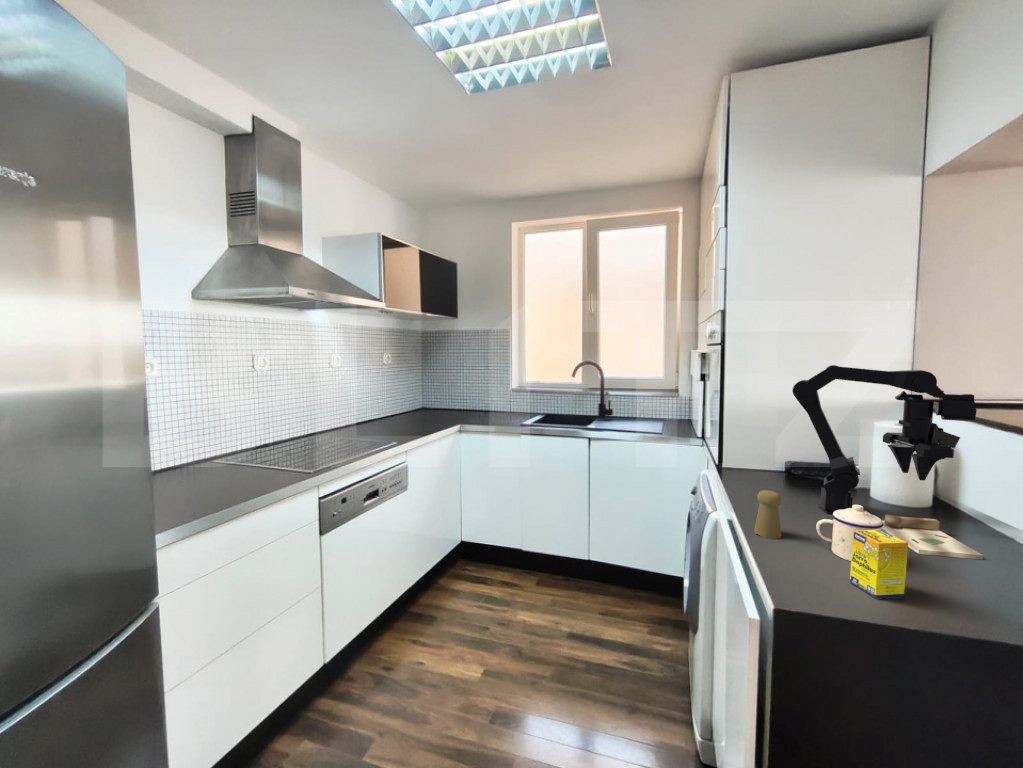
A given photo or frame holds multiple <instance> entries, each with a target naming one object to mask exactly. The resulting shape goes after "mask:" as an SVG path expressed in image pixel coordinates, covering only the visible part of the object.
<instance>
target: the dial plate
mask: <svg viewBox="0 0 1023 768" xmlns="http://www.w3.org/2000/svg"><path fill="white" fill-rule="evenodd" d="M882 522H883V527H882V531H884V532H885V533H887V534H889V535H891V536H894V537H896V538H898V539H900V540H902V541H905V542H907V543H908V549H911V550H912V551H913V552H915V553H916V554H918V555H928V556H929V555H930V556H940V557H949V558H961V559H970V560H971V559H975V560H983V559H984V555H983V554H981V553H980V552H978V551H977V550H974V549H973V548H971V547H969V546H968V545H966V544H964V543H963V542H961V541H959V540H957V539H956V538H954V537H952V536H950V535H948V534H947V533H945V532H943V531H941V530H940V529H939V530H936V529H924V528H911V527H891V526H888V525H885V520H882Z"/></svg>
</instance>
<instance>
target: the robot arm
mask: <svg viewBox="0 0 1023 768" xmlns="http://www.w3.org/2000/svg"><path fill="white" fill-rule="evenodd" d="M835 380H840V381H849V382H851V381H852V382H857V383H858V382H859V383H867V384H877V385H886V386H891V387H894V388H899V389H901V390H902V389H903V390H902V391H901V392H900V393H899V394H897V395H896V396H894V399H895V400H897V401H904V402H903V412H902V413H903V414H902V415H903V416H902V419H898V424H899V425H901V426H902V427H901V432H885V433H884V434H883V435H882V443H886V444H887V447H888V448H889V449H890V452H891V453H892V455H893V456H894V458H895V460H896V462H897V464H898V467H899V468H900V470H901V472H902V473H904V474H908V473H909V471H910V467H911V462H912V460H913V464H914V467H915V471H916V474H917V477H918V480H920V481H926V479H927V478H928V476H929V474H930V472H931V470H932V468H933V467H934V466H935V464H936V463H937V462H939V461H940V460H945V459H954V458H955V448H956V446H957V445H958V442H959V441H960V439H961V436H958V435H955V434H952V433H949V432H946V431H944V428H942V427H939V426H938V424H937V423H934V422H933V421H934V420H933V419H934V406H935V415H936V416H940V418H941V420H943V421H956V422H969V423H970V422H974V421H975V420H976V416H977V408H976V401H975V395H974V394H972V393H963V394H957V393H956V394H955V393H945V392H944V390H942V389H941V388H940V387H939V385H937V384H938V379H937V378H936V376H935V375H934V374H933V373H932V372H930V371H927V370H922V369H911V370H910V369H908V370H889V371H888V370H879V369H869V368H860V367H858V368H857V367H848V366H839V365H835V364H833V365H832V364H831V365H828V366H827V367H826V368H825V369H823V370H822V371H820V372H819V373H817V374H815V375H814V376H812V377H810V378H808V379H801V380H799V381H797V382H796V383H795V384H794V385H793V387H792V394H793V397H794V398H795V399H796V400H797V401H798V404H799V405H800V406H801V407H802V408H803V409H804V411H805V412H806V413H807V415H808V417H809V419H810V422H811V424H812V426H813V428H814V430H815V432H816V434H817V437H818V438H819V440H820V443H821V445H822V447H823V449H824V451H825V455H826V456H827V458H828V460H829V461H828V462H829V466H830V472H831V473H830V474H828V475H827V476H825V477H824V478H823V479H824V480H823V487H821V489H820V492H821V494H820V504H817V507H818V508H820V509H821V510H822V511H824V512H825V513H826V514H829V515H832V514H833V512H834V511H836V510H843V509H848V508H852V506H853V502H854V501H853V499H854V497H852V492H851V491H850V490H851V489H855V487H857V486H858V484H859V483H860V480H859V479H860V478H859V476H861V472H860V469H859V468H858V467H857V465H856V463H855V459H854V456H850V457H847V456H846V455H845V453H844V452H843V451H842V449H841V446H840V444H839V442H838V440H837V438H836V436H835V434H834V431H833V429H832V427H831V425H830V423H829V421H828V419H827V417H826V415H825V413H824V411H823V408H822V405H821V400H820V396H819V392H818V391H819V390H821V389H822V388H824V387H825V386H827V385H829V384H830V383H832V382H833V381H835ZM907 391H910V392H914V393H916V394H913V393H907ZM923 394H927V395H929V396H930V397H933V398H924V396H923ZM934 404H935V405H934Z"/></svg>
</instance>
